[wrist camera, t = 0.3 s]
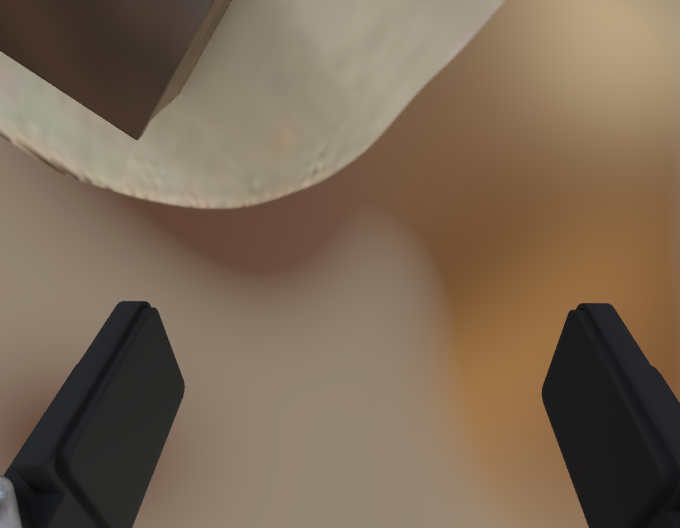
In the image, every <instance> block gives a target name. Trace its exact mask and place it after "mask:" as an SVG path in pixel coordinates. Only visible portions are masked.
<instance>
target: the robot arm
mask: <svg viewBox="0 0 680 528" xmlns="http://www.w3.org/2000/svg"><path fill="white" fill-rule="evenodd" d="M184 387H185V386H184V380H183V378H182V375H181V372H180V369H179V367H178V364H177V361H176V359H175V356H174V353H173V350H172V348H171V345H170V342H169V340H168V337H167V334H166V332H165V329H164V326H163V323H162V321H161V318H160V315H159V313H158V310H157V309H156V308H151V306H150V304H149V303H148V302H146V301H122V302H119V303H118V304H117V306H116V307H115V309H114V310H113V312H112V313H111V315H110V317H109V318H108V319H107V321H106V322H105V324H104V325H103V327H102V328H101V330H100V332H99V333H98V335H97V336H96V338H95V339H94V341H93V342H92V344H91V345H90V347H89V348H88V350H87V351H86V353H85V354H84V356H83V357H82V359H81V360H80V362H79V363H78V364H77V365H76V366H75V368H74V369H73V371H72V372H71V374H70V375H69V377H68V378H67V380H66V381H65V383H64V384H63V386H62V387H61V389H60V390H59V392H58V393H57V395H56V397H55V398H54V400H53V401H52V403H51V404H50V406H49V407H48V409H47V410H46V412H45V413H44V415H43V416H42V418H41V419H40V421H39V422H38V424H37V425H36V427H35V428H34V430H33V431H32V433H31V434H30V436H29V437H28V439H27V441H26V442H25V443H24V445H23V447H22V448H21V450H20V451H19V453H18V454H17V456H16V457H15V459H14V460H13V462H12V464H11V465H10V466H9V468H8V469H7V471H6V473H5V474H4V475H0V528H132V526H133V524H134V521H135V519H136V516H137V514H138V511H139V508H140V506H141V503H142V500H143V498H144V496H145V493H146V491H147V488H148V485H149V482H150V480H151V477H152V475H153V473H154V470H155V467H156V465H157V462H158V459H159V457H160V455H161V452H162V449H163V447H164V444H165V442H166V439H167V437H168V434H169V431H170V429H171V426H172V424H173V421H174V419H175V416H176V414H177V411H178V408H179V406H180V403H181V400H182V398H183V395H184ZM542 399H543V403H544V406H545V409H546V412H547V414H548V417H549V420H550V422H551V425H552V428H553V430H554V433H555V436H556V439H557V441H558V444H559V447H560V450H561V452H562V455H563V458H564V461H565V463H566V466H567V469H568V472H569V474H570V477H571V480H572V483H573V485H574V488H575V491H576V493H577V496H578V499H579V502H580V504H581V507H582V510H583V512H584V515H585V518H586V520H587V523H588V526H589V528H680V403H679V401H678V400H677V398H676V397H675V395H674V394H673V392H672V391H671V389H670V387H669V386H668V384H667V383H666V381H665V380H664V378H663V377H662V375H661V374H660V373H659V372H658V370H657V369H656V368H655V367H653V366H651V365H650V363H649V362H648V360H647V359H646V357H645V355H644V354H643V352H642V351H641V350H640V348H639V346H638V345H637V343H636V341H635V340H634V338H633V337H632V335H631V334H630V332H629V331H628V329H627V327H626V326H625V324H624V323H623V321H622V320H621V318H620V316H619V315H618V313H617V312H616V310H615V309H614V308H613V306H612V305H610V304H608V303H582V304H579V305H578V307H577V308H576V310H571V311H570V312H569V313H568V316H567V319H566V322H565V324H564V327H563V330H562V333H561V336H560V339H559V341H558V344H557V347H556V350H555V353H554V356H553V358H552V362H551V364H550V368H549V370H548V373H547V376H546V378H545V381H544V384H543V387H542Z"/></svg>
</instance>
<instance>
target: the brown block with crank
mask: <svg viewBox="0 0 680 528" xmlns="http://www.w3.org/2000/svg"><path fill="white" fill-rule="evenodd" d="M231 1H232V0H0V51H1V52H3V53H4V54H6V55H7V56H9V57H10V58H12V59H14V60H15V61H17V62H18V63H20V64H21V65H23V66H24V67H26V68H27V69H29V70H30V71H32V72H33V73H35V74H36V75H38V76H39V77H41V78H42V79H44V80H46V81H47V82H49V83H50V84H52V85H53V86H55V87H56V88H58V89H59V90H61V91H62V92H64V93H65V94H67V95H68V96H70V97H71V98H73V99H74V100H76V101H78V102H79V103H81V104H82V105H84V106H85V107H87V108H88V109H90V110H91V111H93V112H94V113H96V114H97V115H99V116H100V117H102V118H103V119H105V120H106V121H108V122H110V123H111V124H113V125H114V126H116V127H117V128H119V129H120V130H122V131H123V132H125V133H126V134H128V135H129V136H131V137H132V138H134V139H135V140H138V139H139V138H140V137H141V136H142V135H143V133H144V131H145V129H146V127H147V125H148V124H149V122H150V120H151V119H152V118H153V117H154V116H156V115H157V114H158V113H159V112H160V111H161V110H162V109H163V108H164V107H165V106H166V105H168V104H169V103H170V102H171V101H172V100H173V99H174V98H175V97H176V96H177V95H178V94H179V93H180V91H181V89H182V88H183V86H184V84H185V82H186V80H187V79H188V77H189V75H190V73H191V72H192V70H193V68H194V66H195V65H196V63H197V61H198V59H199V57H200V56H201V54H202V52H203V50H204V49H205V47H206V45H207V43H208V42H209V40H210V38H211V36H212V34H213V33H214V31H215V29H216V27H217V26H218V24H219V22H220V20H221V18H222V17H223V15H224V13H225V11H226V10H227V8H228V6H229V4H230V3H231Z"/></svg>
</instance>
